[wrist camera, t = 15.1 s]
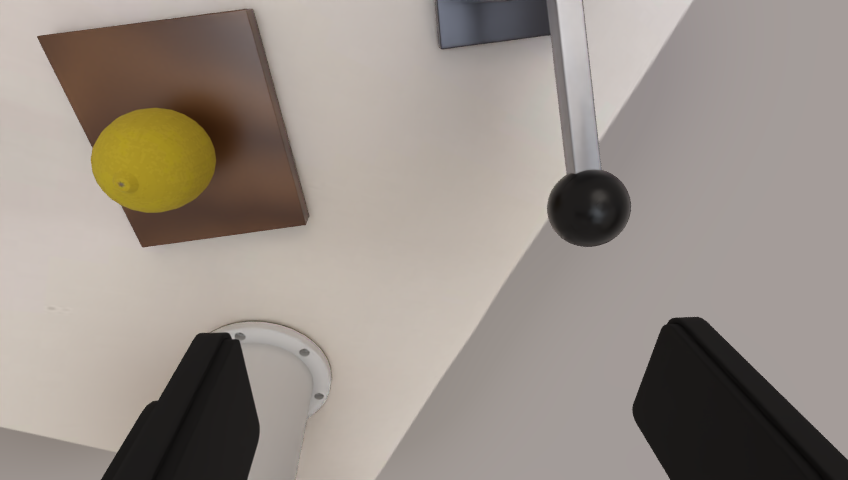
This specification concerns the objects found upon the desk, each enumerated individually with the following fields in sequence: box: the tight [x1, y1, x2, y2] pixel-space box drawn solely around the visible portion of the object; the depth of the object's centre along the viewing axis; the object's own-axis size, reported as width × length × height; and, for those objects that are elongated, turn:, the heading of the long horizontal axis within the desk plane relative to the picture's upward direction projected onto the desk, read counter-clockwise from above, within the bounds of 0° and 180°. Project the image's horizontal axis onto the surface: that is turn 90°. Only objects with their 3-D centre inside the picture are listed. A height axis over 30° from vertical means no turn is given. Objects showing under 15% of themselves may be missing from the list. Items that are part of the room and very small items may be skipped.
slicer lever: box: [547, 0, 631, 247], centre depth 17 cm, size 14×3×3 cm, turn 7°
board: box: [37, 9, 309, 247], centre depth 28 cm, size 14×12×2 cm
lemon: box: [91, 108, 216, 213], centre depth 24 cm, size 6×6×8 cm
